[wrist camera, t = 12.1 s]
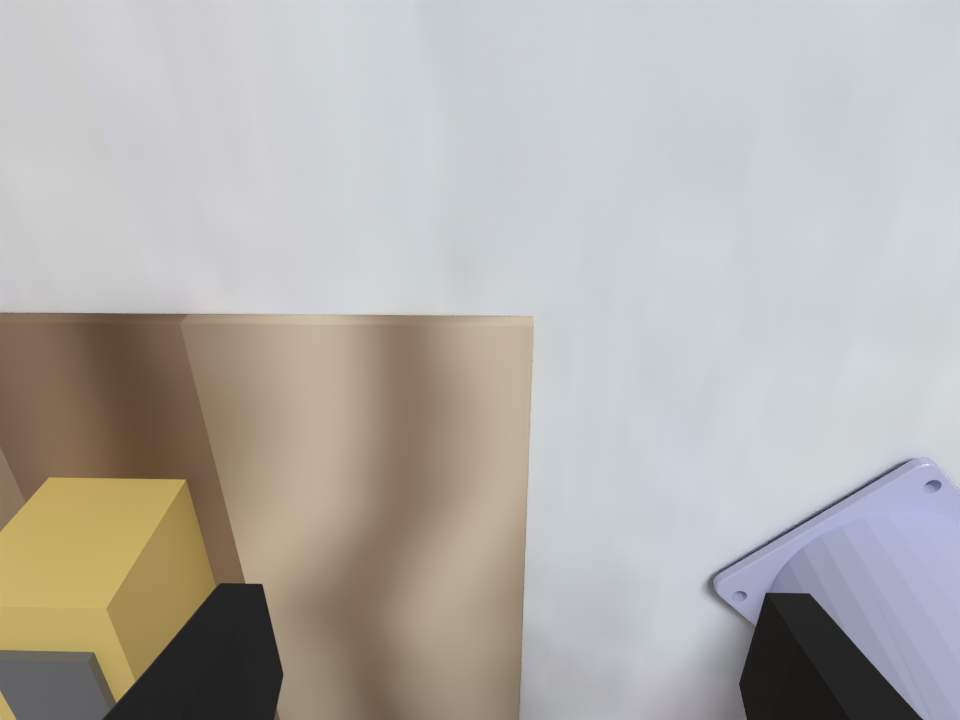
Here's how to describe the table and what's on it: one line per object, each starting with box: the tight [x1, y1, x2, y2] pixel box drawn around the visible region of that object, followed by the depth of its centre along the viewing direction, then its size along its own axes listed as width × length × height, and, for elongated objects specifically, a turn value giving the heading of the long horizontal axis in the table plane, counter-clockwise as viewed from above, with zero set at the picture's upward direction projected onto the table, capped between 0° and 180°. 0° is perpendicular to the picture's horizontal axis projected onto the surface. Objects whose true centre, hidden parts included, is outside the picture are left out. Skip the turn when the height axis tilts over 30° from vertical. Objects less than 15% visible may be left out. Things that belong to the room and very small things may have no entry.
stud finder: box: [0, 477, 216, 720], centre depth 21 cm, size 4×9×5 cm, turn 0°
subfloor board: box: [0, 313, 534, 720], centre depth 24 cm, size 19×20×1 cm
